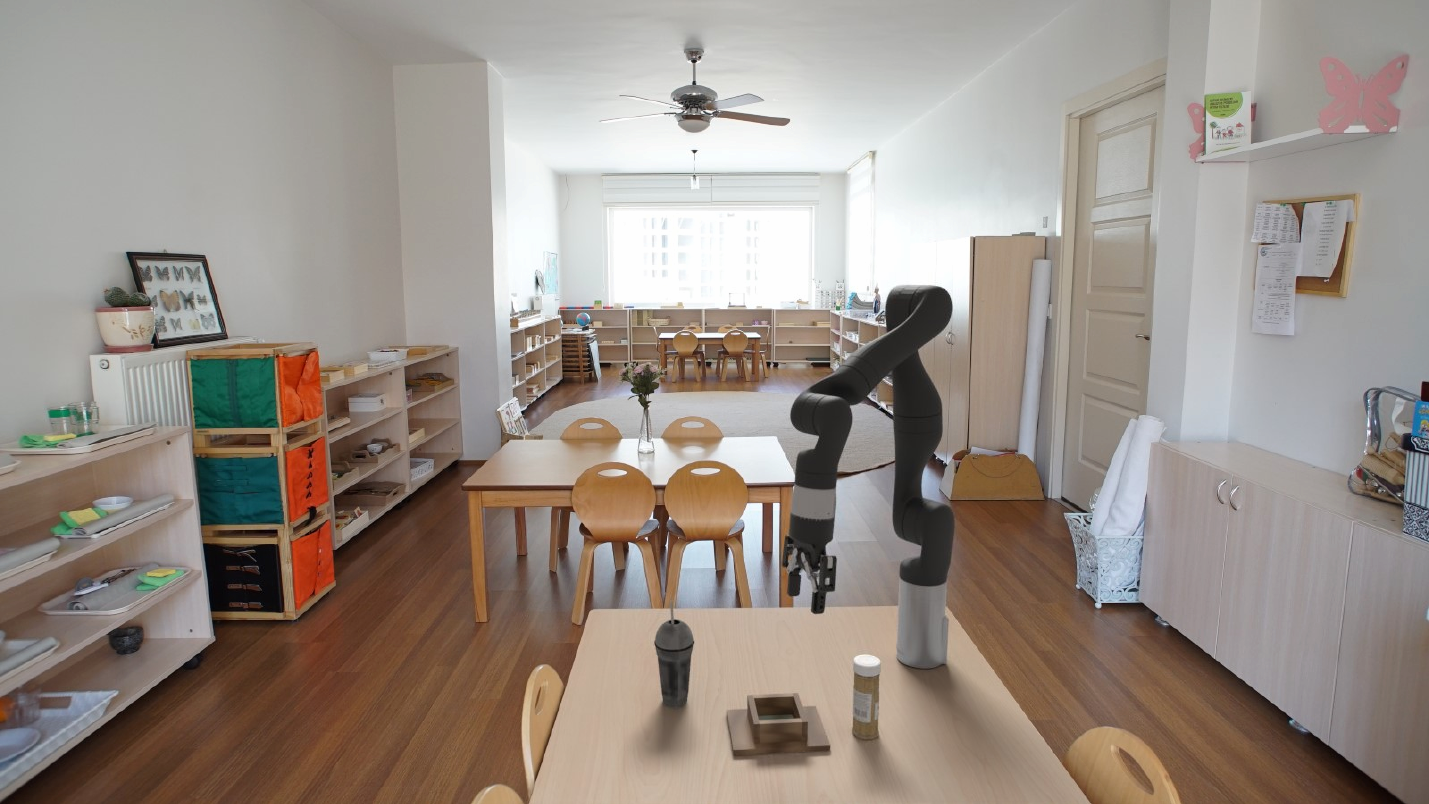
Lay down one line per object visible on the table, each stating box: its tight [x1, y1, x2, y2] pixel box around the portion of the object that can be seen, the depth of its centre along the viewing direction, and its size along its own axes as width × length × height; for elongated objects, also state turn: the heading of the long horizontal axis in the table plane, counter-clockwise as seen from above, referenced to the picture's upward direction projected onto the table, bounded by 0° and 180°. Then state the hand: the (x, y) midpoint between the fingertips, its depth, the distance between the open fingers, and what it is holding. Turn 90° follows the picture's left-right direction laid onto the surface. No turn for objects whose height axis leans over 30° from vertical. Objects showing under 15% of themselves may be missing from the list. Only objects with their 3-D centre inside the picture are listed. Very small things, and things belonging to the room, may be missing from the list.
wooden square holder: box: [726, 692, 831, 757], centre depth 137 cm, size 16×12×4 cm
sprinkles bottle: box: [851, 654, 882, 740], centre depth 136 cm, size 5×5×14 cm
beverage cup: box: [653, 599, 695, 708], centre depth 146 cm, size 7×7×20 cm
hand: (804, 604), depth 138 cm, fingers open, 8 cm apart
